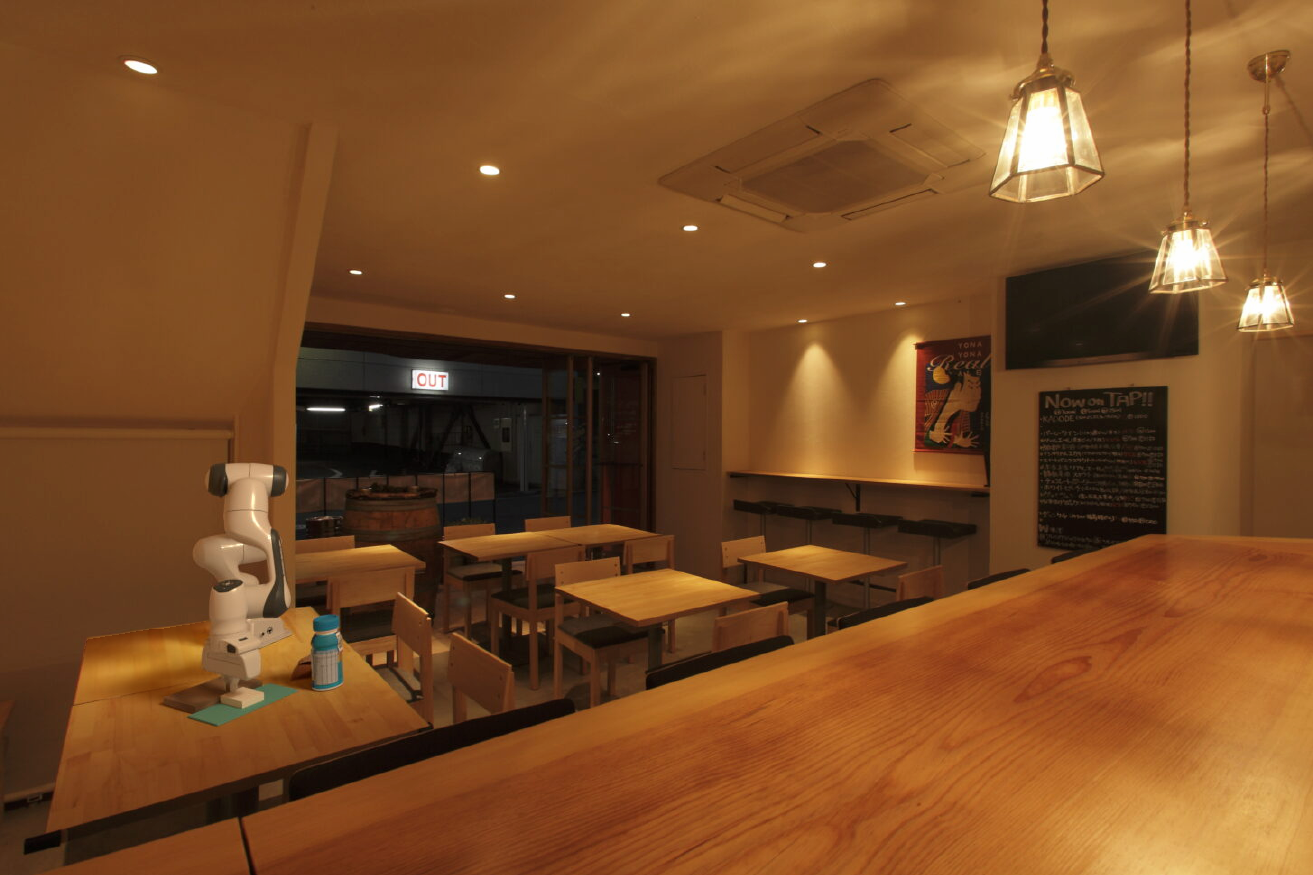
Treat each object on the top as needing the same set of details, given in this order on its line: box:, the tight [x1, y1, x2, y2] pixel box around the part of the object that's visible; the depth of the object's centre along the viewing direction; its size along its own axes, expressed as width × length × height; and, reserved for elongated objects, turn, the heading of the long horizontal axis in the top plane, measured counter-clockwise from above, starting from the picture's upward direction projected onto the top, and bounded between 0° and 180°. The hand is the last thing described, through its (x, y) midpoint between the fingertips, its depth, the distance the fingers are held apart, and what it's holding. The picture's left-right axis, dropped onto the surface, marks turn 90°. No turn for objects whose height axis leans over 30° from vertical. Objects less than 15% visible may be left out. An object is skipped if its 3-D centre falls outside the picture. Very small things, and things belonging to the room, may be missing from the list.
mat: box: [187, 682, 298, 727], centre depth 172 cm, size 22×12×1 cm, turn 156°
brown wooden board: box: [163, 676, 263, 714], centre depth 177 cm, size 18×14×2 cm
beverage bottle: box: [309, 614, 344, 692], centre depth 182 cm, size 8×8×20 cm
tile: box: [221, 687, 264, 709], centre depth 172 cm, size 6×9×2 cm, turn 66°
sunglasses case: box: [290, 653, 312, 682], centre depth 196 cm, size 18×7×7 cm, turn 23°
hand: (231, 689), depth 174 cm, fingers closed
